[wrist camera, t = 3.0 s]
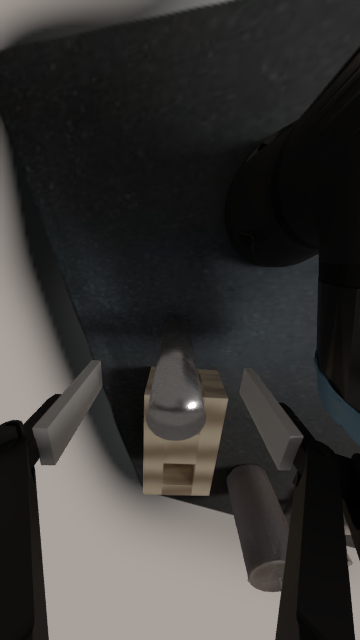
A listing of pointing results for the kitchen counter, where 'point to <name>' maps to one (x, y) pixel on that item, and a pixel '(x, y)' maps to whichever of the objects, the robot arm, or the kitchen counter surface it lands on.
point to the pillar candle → (259, 526)
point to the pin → (176, 386)
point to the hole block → (185, 446)
